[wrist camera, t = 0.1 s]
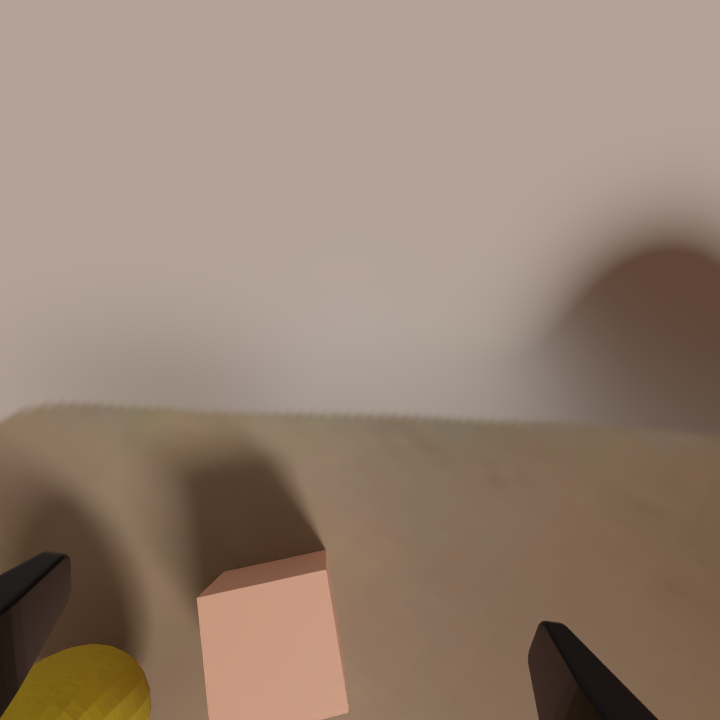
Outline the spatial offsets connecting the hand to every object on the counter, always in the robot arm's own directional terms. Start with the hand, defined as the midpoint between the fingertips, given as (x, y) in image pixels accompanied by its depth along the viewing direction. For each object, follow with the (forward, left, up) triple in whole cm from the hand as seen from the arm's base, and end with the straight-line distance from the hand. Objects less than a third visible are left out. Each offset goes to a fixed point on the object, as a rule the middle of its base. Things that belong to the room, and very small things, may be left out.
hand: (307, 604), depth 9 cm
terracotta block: (-3, +3, -15) cm, 16 cm away
